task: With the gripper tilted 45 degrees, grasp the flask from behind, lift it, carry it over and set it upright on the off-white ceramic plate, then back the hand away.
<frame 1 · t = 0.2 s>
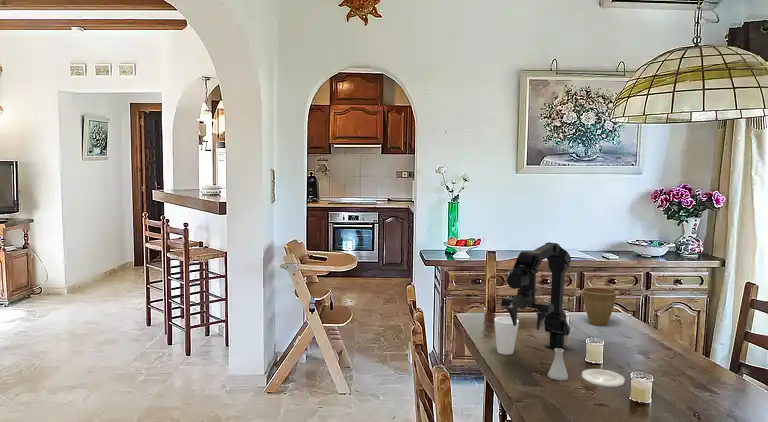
hand: (526, 327, 210), 14 cm above the table, tool pointing down, fingers open, 9 cm apart
foam cup: (505, 352, 226), on the table
ceramic plate: (602, 378, 199), on the table
flask: (557, 377, 200), on the table
plant pot: (597, 324, 268), on the table
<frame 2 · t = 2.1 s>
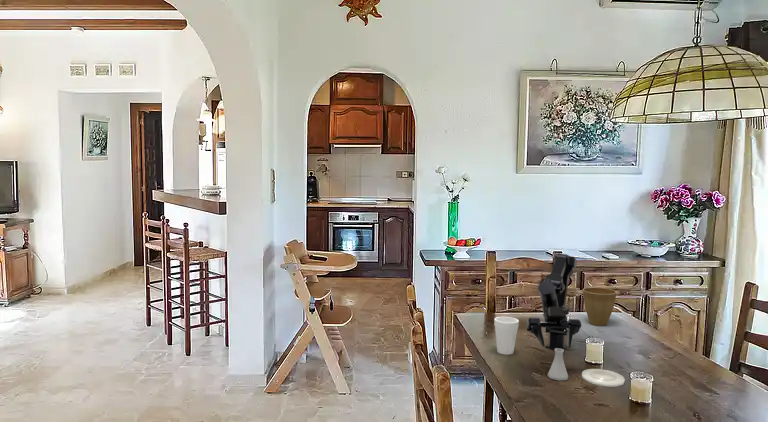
hand: (556, 346, 202), 10 cm above the table, tool tilted 45°, fingers open, 9 cm apart
nothing on the table moved.
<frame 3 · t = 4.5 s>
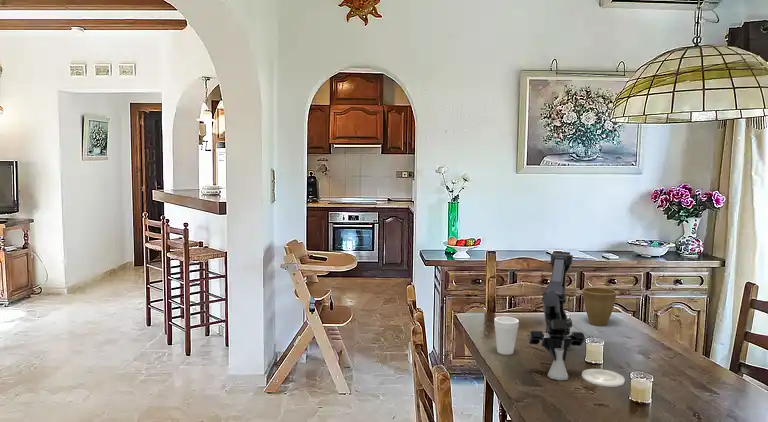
hand: (559, 360, 198), 7 cm above the table, tool tilted 45°, fingers closed on flask, 3 cm apart
flask: (557, 377, 200), on the table, touching gripper
everything else where it was.
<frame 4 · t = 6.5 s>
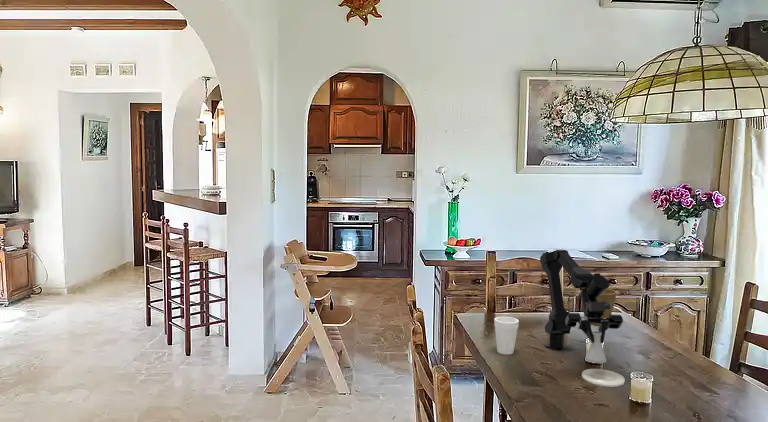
hand: (597, 342, 197), 13 cm above the table, tool tilted 45°, fingers closed on flask, 3 cm apart
flask: (595, 360, 199), point 6 cm above the table, touching gripper
everything else where it was.
when the fingers open (9 cm above the table, at t = 8.5 s): flask stays where it is, resting on ceramic plate.
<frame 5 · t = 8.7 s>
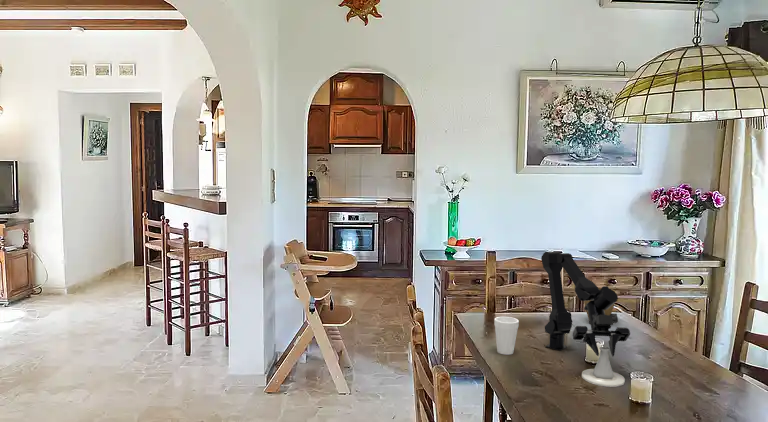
hand: (605, 355, 197), 9 cm above the table, tool tilted 45°, fingers open, 5 cm apart
flask: (602, 376, 199), point 1 cm above the table, touching ceramic plate
everything else where it was.
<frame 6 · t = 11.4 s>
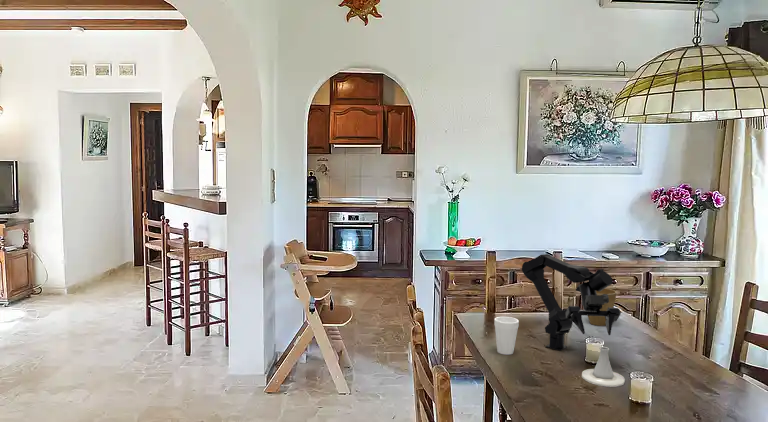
hand: (596, 334, 206), 14 cm above the table, tool tilted 45°, fingers open, 9 cm apart
nothing on the table moved.
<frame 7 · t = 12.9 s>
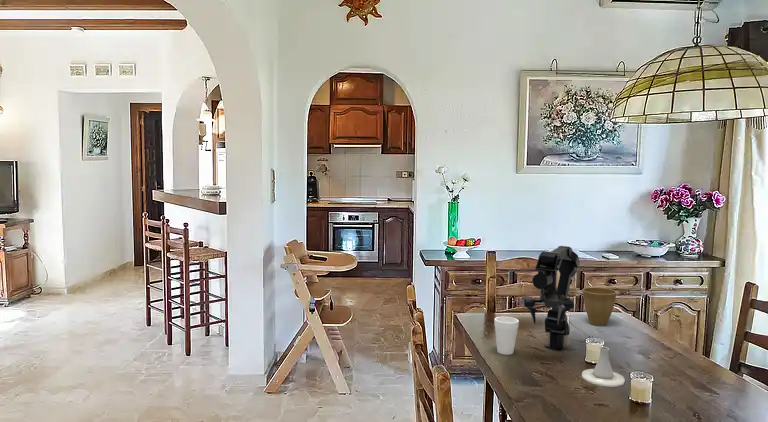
hand: (546, 324, 219), 13 cm above the table, tool pointing down, fingers open, 9 cm apart
nothing on the table moved.
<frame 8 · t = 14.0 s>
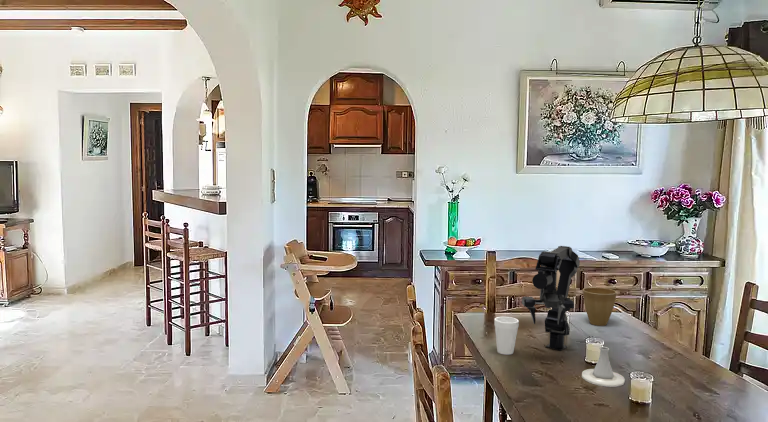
hand: (546, 324, 219), 13 cm above the table, tool pointing down, fingers open, 9 cm apart
nothing on the table moved.
at the end: flask inside the target area on the ceramic plate (0.2 cm from its centre), point 0.9 cm above the ceramic plate's base; flask tilted 0°; the gripper is holding nothing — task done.
